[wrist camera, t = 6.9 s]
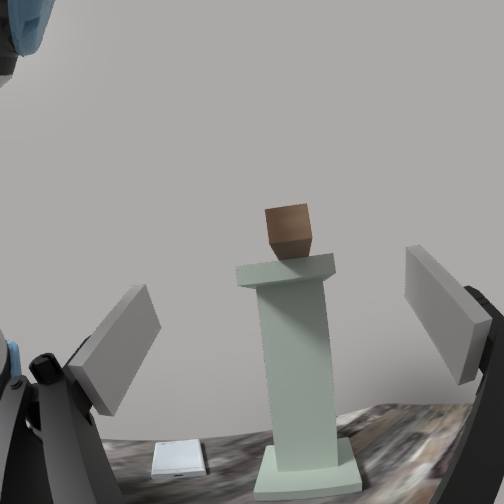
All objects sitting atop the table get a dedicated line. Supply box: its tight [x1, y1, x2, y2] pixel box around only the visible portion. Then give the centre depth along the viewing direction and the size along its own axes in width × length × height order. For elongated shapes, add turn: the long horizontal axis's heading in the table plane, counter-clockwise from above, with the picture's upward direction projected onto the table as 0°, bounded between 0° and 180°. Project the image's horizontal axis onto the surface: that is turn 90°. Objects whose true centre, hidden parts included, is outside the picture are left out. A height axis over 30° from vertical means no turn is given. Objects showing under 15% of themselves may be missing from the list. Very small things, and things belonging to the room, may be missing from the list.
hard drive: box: [151, 439, 207, 479], centre depth 41 cm, size 2×8×12 cm
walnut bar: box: [265, 204, 312, 260], centre depth 33 cm, size 3×24×2 cm, turn 171°
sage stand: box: [236, 253, 362, 501], centre depth 37 cm, size 13×16×29 cm
